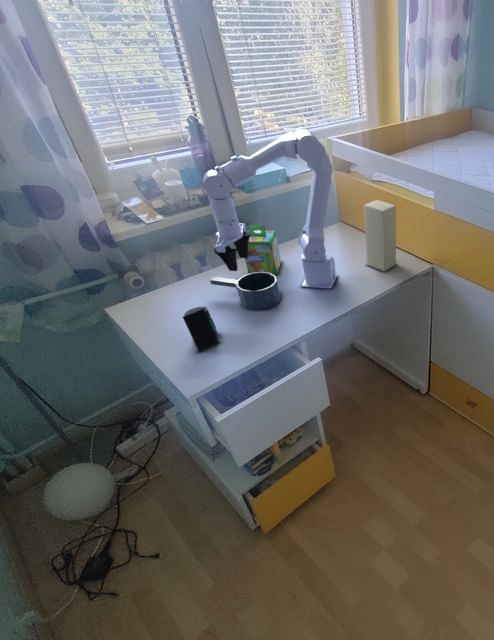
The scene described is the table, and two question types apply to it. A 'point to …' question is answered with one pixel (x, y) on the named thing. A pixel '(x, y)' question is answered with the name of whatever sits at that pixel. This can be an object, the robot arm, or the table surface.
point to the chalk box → (262, 251)
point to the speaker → (201, 327)
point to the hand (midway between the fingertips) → (239, 263)
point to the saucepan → (254, 289)
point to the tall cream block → (380, 234)
